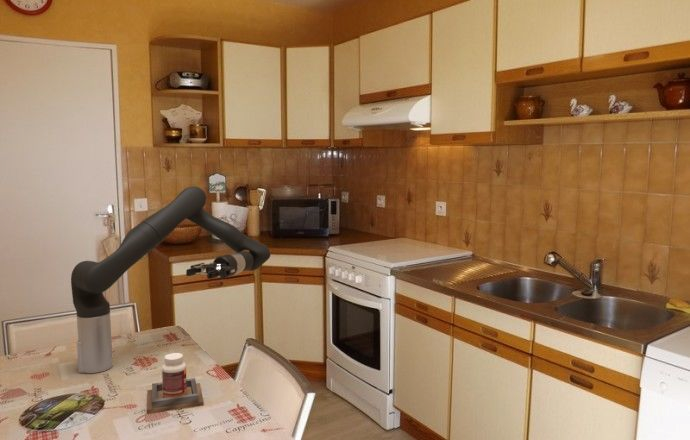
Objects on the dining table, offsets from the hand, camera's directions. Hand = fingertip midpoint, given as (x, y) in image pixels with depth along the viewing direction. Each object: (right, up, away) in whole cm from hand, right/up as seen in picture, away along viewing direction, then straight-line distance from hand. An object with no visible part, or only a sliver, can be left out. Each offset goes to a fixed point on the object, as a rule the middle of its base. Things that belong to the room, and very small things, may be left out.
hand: (197, 274), depth 165 cm
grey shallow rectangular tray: (+1, -31, -24) cm, 40 cm away
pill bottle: (+1, -30, -24) cm, 39 cm away
